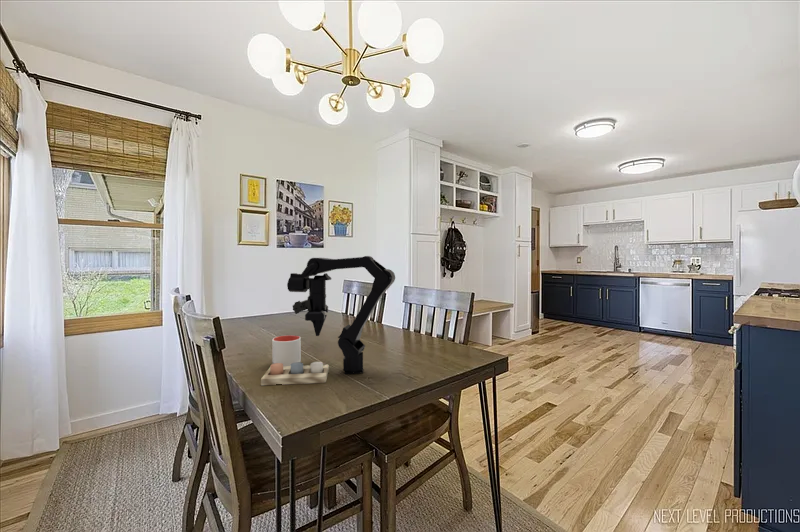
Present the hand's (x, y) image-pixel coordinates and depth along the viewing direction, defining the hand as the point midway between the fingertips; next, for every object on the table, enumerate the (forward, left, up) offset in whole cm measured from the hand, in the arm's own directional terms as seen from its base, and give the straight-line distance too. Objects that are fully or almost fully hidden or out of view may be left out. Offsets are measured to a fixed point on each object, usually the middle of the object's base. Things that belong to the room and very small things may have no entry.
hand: (317, 335), depth 123 cm
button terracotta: (+12, +8, -12) cm, 19 cm away
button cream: (-1, +8, -12) cm, 14 cm away
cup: (+12, -6, -12) cm, 18 cm away
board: (+6, +8, -12) cm, 16 cm away
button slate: (+6, +8, -12) cm, 15 cm away
